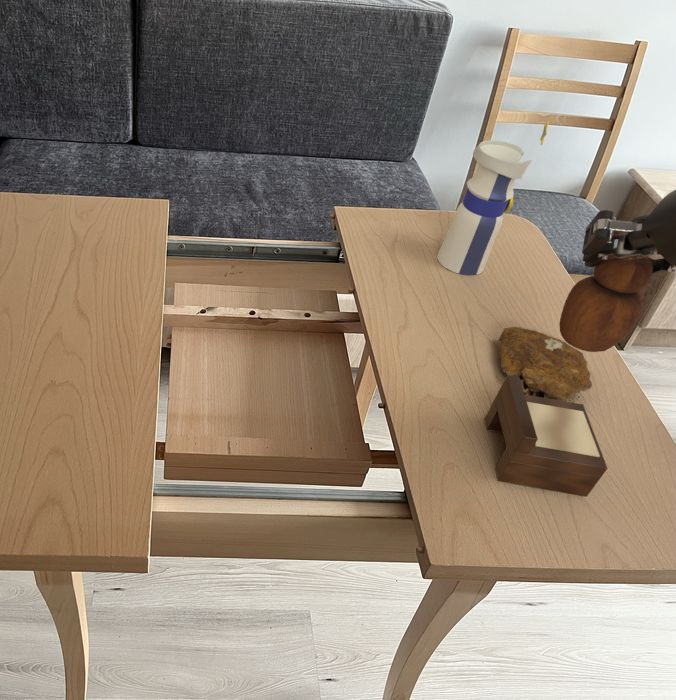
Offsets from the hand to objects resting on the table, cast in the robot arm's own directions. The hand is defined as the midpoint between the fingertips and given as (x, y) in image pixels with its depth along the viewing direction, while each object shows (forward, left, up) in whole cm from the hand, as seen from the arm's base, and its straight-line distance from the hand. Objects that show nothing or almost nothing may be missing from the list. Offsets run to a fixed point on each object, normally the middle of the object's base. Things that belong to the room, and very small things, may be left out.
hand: (617, 262), depth 71 cm
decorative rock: (-4, -9, -24) cm, 26 cm away
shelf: (0, +6, -24) cm, 25 cm away
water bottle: (+3, -36, -24) cm, 44 cm away
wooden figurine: (0, +2, -9) cm, 10 cm away
